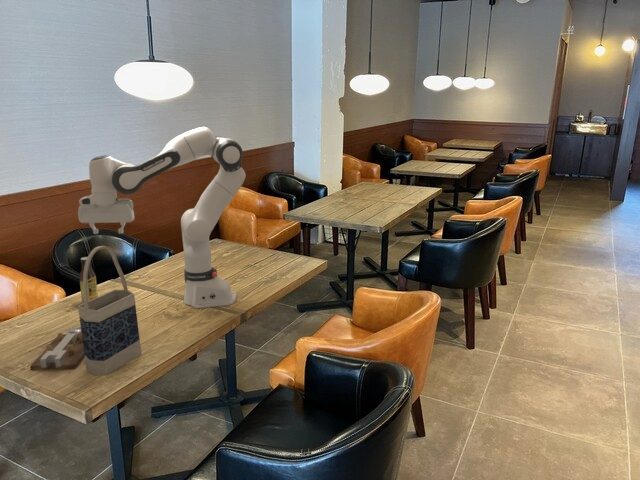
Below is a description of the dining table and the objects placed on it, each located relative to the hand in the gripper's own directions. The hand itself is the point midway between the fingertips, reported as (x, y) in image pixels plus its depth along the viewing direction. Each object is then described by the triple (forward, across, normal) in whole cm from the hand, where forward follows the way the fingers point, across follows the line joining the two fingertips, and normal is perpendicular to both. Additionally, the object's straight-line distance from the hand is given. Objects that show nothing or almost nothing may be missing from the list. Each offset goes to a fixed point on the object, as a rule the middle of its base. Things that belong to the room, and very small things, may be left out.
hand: (108, 233), depth 197 cm
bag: (+33, -11, +41) cm, 54 cm away
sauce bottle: (+33, +14, -10) cm, 38 cm away
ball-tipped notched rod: (+32, +7, +34) cm, 47 cm away
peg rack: (+33, +7, +34) cm, 48 cm away
